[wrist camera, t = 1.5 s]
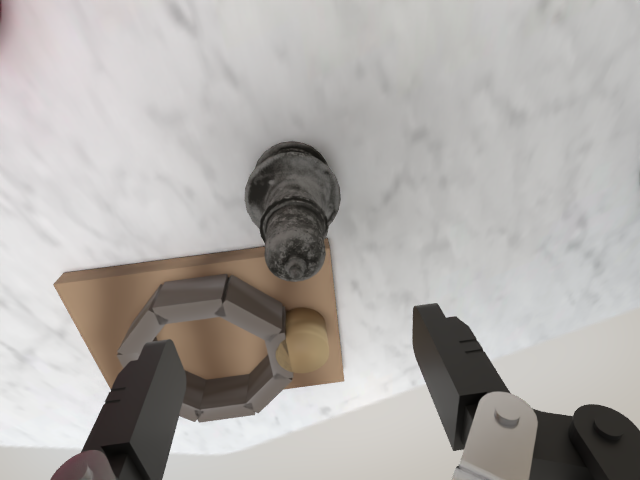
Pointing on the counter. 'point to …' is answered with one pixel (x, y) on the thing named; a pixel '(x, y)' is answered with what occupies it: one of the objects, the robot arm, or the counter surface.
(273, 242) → the salt shaker
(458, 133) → the counter surface
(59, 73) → the counter surface
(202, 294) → the board
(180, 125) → the counter surface
